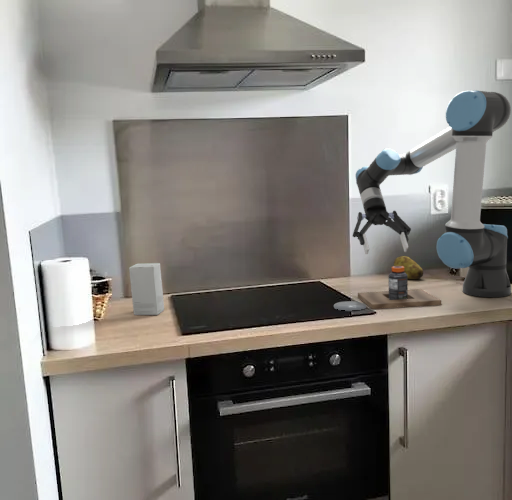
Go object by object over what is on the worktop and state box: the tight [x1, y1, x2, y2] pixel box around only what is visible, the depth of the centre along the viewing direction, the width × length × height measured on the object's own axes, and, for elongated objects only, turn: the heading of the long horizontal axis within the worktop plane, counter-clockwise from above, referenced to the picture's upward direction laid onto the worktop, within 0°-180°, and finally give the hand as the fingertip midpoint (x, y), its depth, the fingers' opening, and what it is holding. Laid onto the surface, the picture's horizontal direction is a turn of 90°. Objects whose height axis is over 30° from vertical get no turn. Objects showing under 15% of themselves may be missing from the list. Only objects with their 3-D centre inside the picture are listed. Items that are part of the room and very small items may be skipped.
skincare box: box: [128, 262, 165, 316], centre depth 178 cm, size 8×7×16 cm
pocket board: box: [357, 288, 442, 310], centre depth 182 cm, size 22×16×2 cm
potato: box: [393, 255, 424, 280], centre depth 217 cm, size 8×13×8 cm, turn 10°
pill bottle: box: [388, 265, 409, 300], centre depth 182 cm, size 6×6×11 cm
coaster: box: [333, 300, 367, 312], centre depth 177 cm, size 10×10×1 cm
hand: (387, 250), depth 191 cm, fingers open, 13 cm apart
